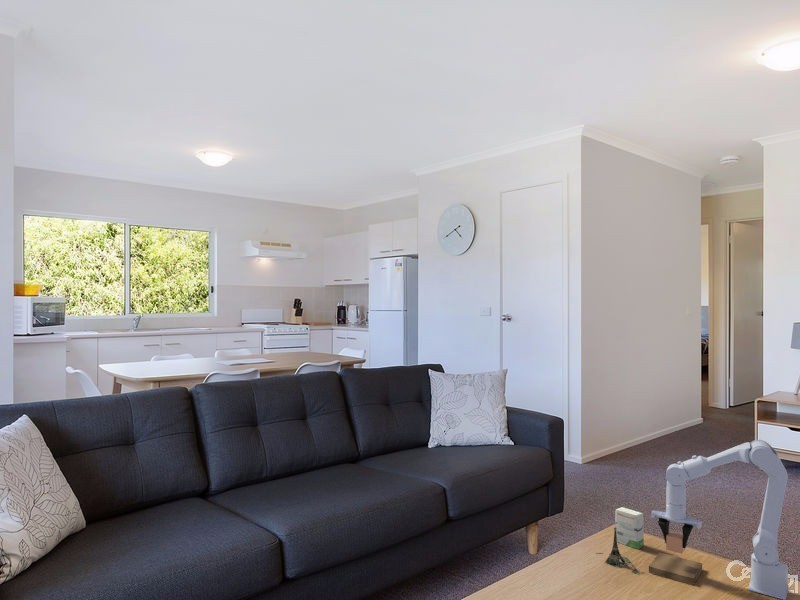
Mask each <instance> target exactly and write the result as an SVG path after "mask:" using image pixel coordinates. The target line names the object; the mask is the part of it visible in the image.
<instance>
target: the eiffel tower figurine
mask: <svg viewBox="0 0 800 600" xmlns="http://www.w3.org/2000/svg"><path fill="white" fill-rule="evenodd" d="M614 526H615V527H614V528H613V530H614V531H613V532H614V533H613V534H614V535H613V543H612V544H613V545H612V547H611V548H612V549H611V551H610V553H609V555H608V557H607V558H606V560H605V561H604V562H603V564H606V565H609V566H612V567H615V568H618V569H620V568H622V567H624V566H625V565H628V566H630V567H633V570H631V571H630V572H631V573H632V574H634V575H639V574H641V573H640V572H639V570H637V568H636V567H635V565H634V564H633V563H632V562H631V560H630V559H629V558H627V557H625V556H622V554H621V553H620V550H619V546H618V542H617V535H616V524H615V525H614ZM602 554H604V552H595V555H602Z"/></svg>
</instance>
